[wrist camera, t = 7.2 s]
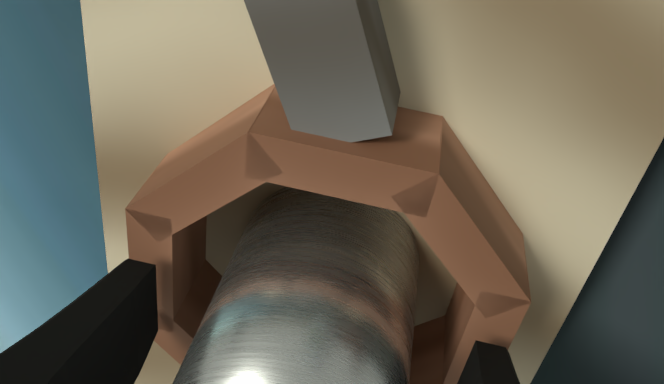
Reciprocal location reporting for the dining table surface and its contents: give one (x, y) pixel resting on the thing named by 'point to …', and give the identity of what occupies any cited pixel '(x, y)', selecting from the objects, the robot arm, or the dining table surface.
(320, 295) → the cylinder
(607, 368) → the dining table surface
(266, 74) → the coupling stand
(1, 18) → the dining table surface
